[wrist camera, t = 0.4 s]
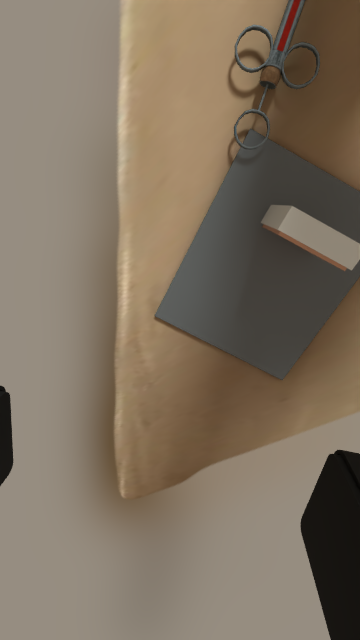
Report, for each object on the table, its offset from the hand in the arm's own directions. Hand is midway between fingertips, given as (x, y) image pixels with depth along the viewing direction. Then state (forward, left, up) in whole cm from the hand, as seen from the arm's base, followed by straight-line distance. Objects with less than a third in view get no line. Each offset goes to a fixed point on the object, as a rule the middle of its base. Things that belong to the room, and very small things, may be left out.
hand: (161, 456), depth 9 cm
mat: (-3, +7, -29) cm, 30 cm away
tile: (-8, +7, -28) cm, 31 cm away
